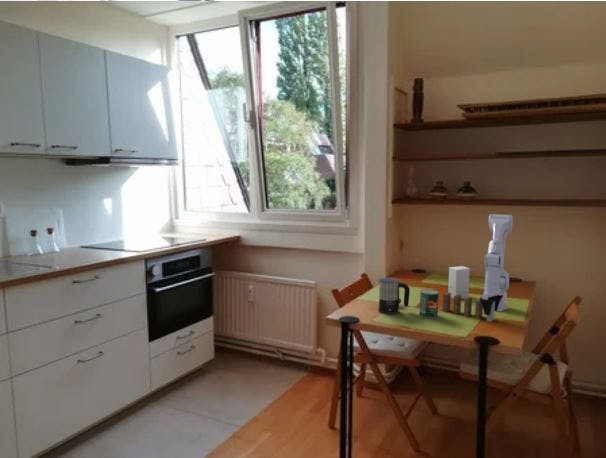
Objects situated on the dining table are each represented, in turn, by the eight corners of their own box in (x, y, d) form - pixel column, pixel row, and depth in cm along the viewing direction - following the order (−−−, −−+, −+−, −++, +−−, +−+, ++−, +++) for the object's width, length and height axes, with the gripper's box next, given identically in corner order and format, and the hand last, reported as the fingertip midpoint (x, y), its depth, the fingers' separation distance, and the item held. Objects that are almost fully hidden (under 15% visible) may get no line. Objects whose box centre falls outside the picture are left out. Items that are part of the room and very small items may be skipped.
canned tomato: (423, 311, 206) (424, 288, 204) (440, 315, 201) (441, 291, 199) (416, 316, 200) (417, 291, 198) (433, 319, 195) (434, 294, 193)
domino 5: (490, 318, 196) (491, 300, 195) (493, 319, 195) (494, 301, 194) (486, 320, 194) (487, 302, 193) (490, 321, 192) (491, 303, 191)
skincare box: (460, 295, 235) (462, 265, 233) (469, 298, 228) (470, 268, 227) (447, 296, 232) (448, 266, 230) (455, 299, 226) (456, 269, 224)
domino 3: (467, 313, 203) (468, 296, 202) (471, 314, 202) (472, 297, 201) (463, 315, 200) (464, 298, 199) (467, 316, 199) (468, 298, 198)
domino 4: (478, 316, 200) (479, 298, 199) (482, 317, 199) (483, 299, 198) (474, 318, 197) (475, 300, 196) (478, 319, 196) (479, 301, 195)
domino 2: (457, 311, 207) (457, 294, 206) (460, 312, 206) (461, 295, 205) (453, 313, 204) (453, 296, 203) (456, 314, 203) (457, 296, 202)
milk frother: (383, 315, 201) (384, 282, 199) (368, 305, 216) (369, 275, 214) (412, 313, 204) (413, 280, 202) (396, 303, 219) (397, 273, 218)
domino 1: (446, 309, 210) (447, 292, 209) (450, 309, 209) (450, 293, 208) (442, 311, 207) (443, 294, 206) (446, 311, 206) (446, 294, 205)
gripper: (495, 286, 184) (493, 318, 186) (508, 280, 195) (506, 311, 196) (478, 283, 189) (476, 314, 191) (491, 277, 200) (490, 307, 201)
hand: (490, 312), depth 194 cm, fingers open, 7 cm apart
